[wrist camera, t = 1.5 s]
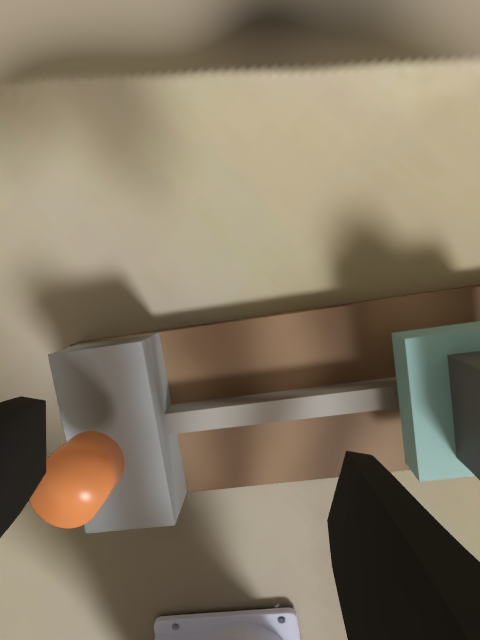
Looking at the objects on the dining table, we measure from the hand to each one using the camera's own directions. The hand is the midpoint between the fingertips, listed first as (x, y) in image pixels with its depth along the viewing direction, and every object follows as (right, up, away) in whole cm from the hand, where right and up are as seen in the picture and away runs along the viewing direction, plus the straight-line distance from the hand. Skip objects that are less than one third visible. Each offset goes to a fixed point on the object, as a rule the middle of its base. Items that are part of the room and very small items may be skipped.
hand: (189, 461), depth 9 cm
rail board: (+7, -1, +13) cm, 15 cm away
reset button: (-6, -3, +8) cm, 11 cm away
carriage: (+12, 0, +10) cm, 16 cm away
